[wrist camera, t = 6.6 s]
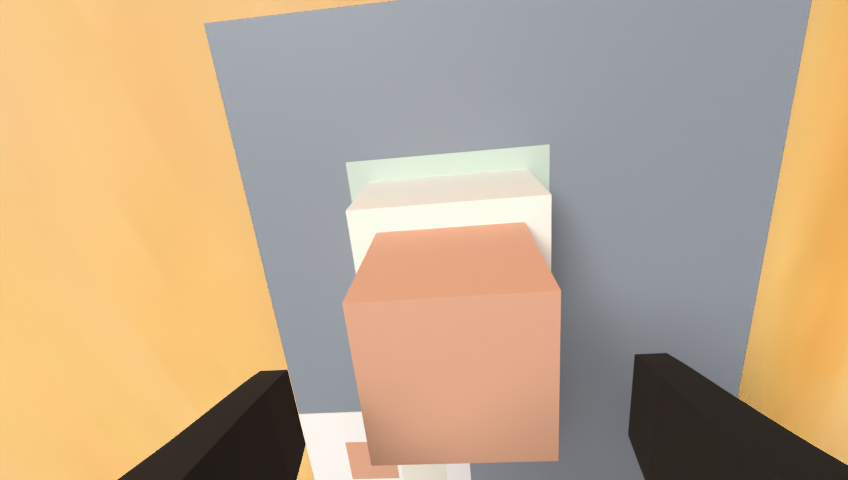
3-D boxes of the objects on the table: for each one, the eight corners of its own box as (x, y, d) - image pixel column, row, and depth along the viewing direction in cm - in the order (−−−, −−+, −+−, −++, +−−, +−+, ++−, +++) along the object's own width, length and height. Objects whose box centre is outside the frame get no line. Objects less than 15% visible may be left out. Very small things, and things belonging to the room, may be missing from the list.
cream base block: (529, 310, 18) (550, 370, 14) (388, 318, 19) (373, 377, 15) (527, 168, 16) (551, 194, 12) (369, 181, 16) (345, 211, 13)
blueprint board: (706, 496, 22) (716, 512, 21) (328, 504, 24) (324, 519, 23) (801, -44, 14) (822, -51, 13) (215, 26, 16) (203, 23, 15)
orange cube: (526, 349, 14) (558, 461, 10) (393, 356, 14) (371, 465, 10) (524, 221, 13) (560, 290, 8) (376, 232, 13) (341, 303, 9)
